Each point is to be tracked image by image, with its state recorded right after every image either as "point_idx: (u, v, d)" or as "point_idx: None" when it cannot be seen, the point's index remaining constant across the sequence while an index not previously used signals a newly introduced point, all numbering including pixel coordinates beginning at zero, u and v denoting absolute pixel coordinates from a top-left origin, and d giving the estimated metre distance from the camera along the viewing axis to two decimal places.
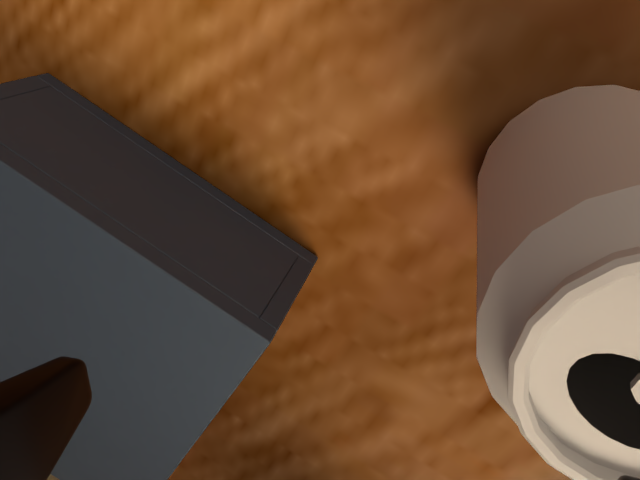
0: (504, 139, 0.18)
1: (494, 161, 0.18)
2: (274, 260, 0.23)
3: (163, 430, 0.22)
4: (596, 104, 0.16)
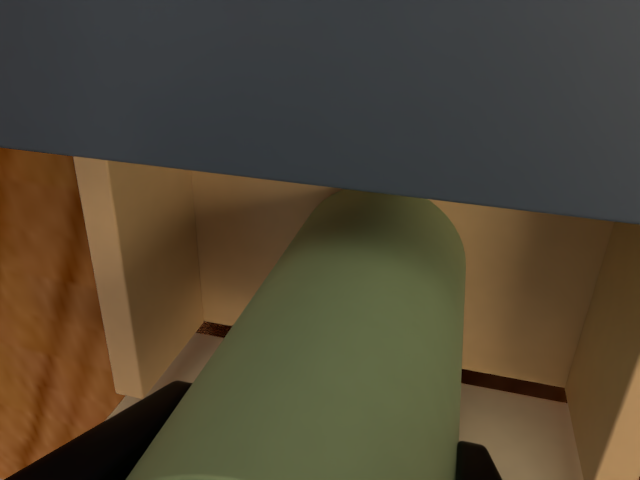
0: None
1: None
2: None
3: None
4: None
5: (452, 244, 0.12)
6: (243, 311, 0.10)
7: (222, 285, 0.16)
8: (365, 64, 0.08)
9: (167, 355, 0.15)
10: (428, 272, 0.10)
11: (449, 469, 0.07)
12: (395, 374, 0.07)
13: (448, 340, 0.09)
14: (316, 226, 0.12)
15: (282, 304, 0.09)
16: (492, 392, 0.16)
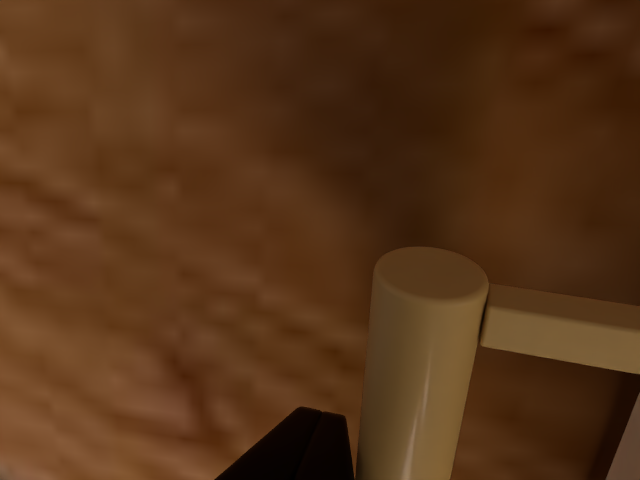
0: None
1: None
2: None
3: None
4: None
5: None
6: None
7: None
8: None
9: None
10: None
11: None
12: None
13: None
14: None
15: None
16: None
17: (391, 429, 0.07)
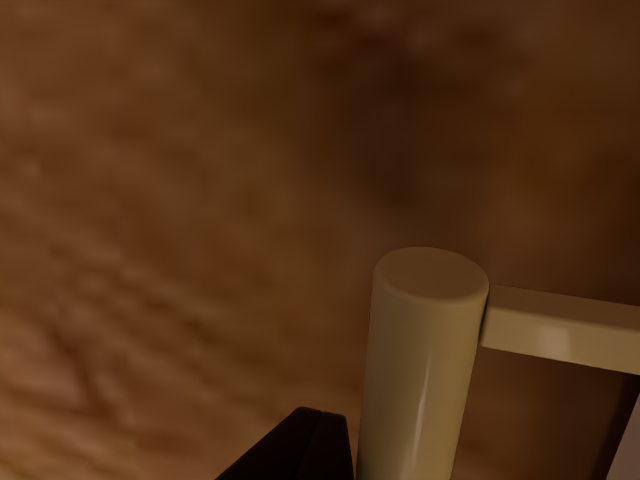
0: None
1: None
2: None
3: None
4: None
5: None
6: None
7: None
8: None
9: None
10: None
11: None
12: None
13: None
14: None
15: None
16: None
17: (391, 430, 0.07)
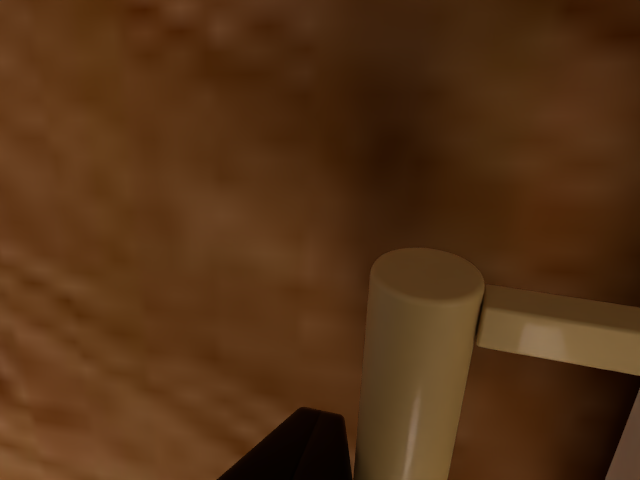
0: None
1: None
2: None
3: None
4: None
5: None
6: None
7: None
8: None
9: None
10: None
11: None
12: None
13: None
14: None
15: None
16: None
17: (387, 430, 0.07)
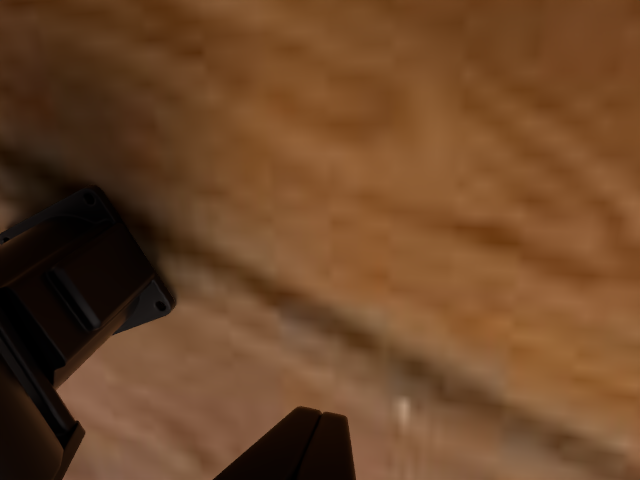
0: None
1: None
2: None
3: None
4: None
5: None
6: None
7: None
8: None
9: None
10: None
11: None
12: None
13: None
14: None
15: None
16: None
17: None
